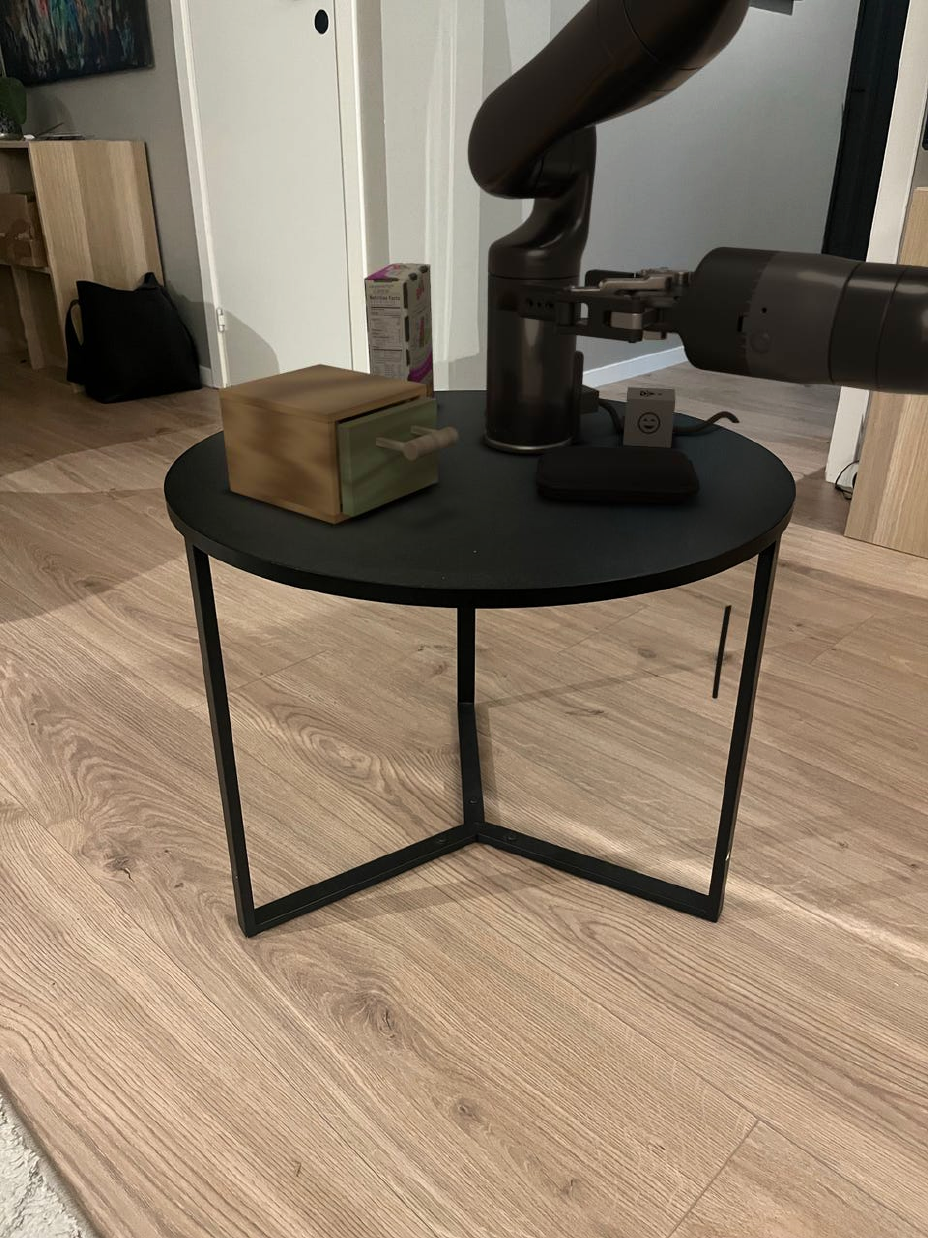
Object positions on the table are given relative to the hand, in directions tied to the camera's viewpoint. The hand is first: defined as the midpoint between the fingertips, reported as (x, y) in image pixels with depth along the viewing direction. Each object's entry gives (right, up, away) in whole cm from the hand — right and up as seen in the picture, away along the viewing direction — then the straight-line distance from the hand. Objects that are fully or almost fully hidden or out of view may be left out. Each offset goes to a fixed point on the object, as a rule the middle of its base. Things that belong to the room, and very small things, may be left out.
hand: (554, 291), depth 67 cm
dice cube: (+13, -4, +36) cm, 39 cm away
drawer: (-15, -11, +19) cm, 27 cm away
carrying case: (+8, -11, +23) cm, 26 cm away
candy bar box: (-13, 0, +44) cm, 46 cm away
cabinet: (-19, -11, +22) cm, 31 cm away
